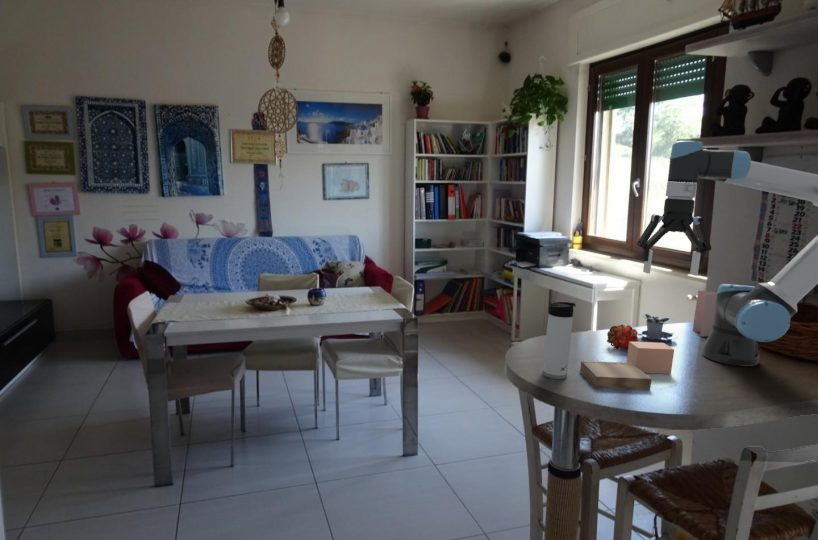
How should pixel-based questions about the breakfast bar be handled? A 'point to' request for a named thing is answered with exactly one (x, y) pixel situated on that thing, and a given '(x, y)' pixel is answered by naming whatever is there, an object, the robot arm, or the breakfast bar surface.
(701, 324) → the greeting card
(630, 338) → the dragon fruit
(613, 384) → the brown wooden board
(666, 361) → the block
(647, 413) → the breakfast bar surface
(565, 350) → the travel mug
